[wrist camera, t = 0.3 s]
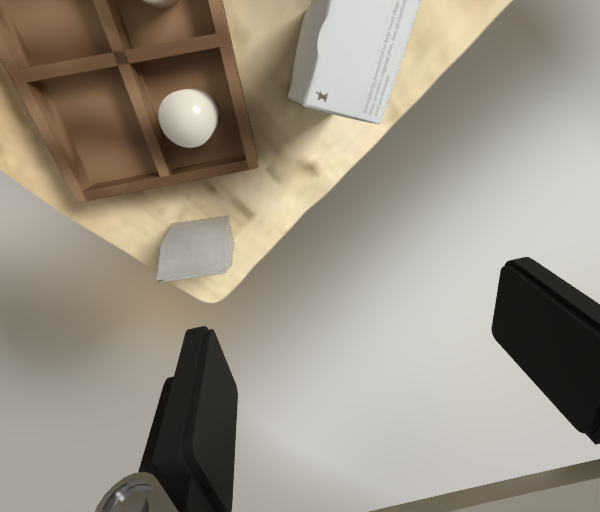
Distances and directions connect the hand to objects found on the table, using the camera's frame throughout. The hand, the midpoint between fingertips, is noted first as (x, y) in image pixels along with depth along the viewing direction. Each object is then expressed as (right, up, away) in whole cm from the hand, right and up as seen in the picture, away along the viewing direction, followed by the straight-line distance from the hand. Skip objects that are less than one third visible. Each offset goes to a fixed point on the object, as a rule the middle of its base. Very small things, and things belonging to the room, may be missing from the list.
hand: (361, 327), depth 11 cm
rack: (-18, +21, +21) cm, 35 cm away
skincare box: (0, +22, +23) cm, 32 cm away
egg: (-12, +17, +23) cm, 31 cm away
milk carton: (-14, +5, +31) cm, 34 cm away
